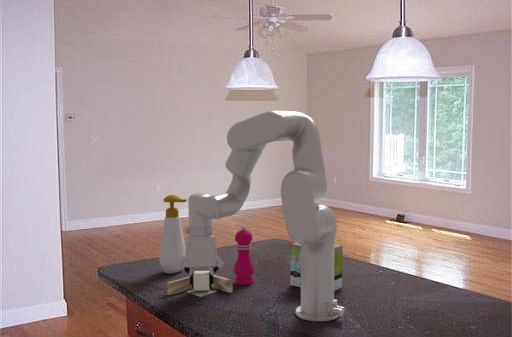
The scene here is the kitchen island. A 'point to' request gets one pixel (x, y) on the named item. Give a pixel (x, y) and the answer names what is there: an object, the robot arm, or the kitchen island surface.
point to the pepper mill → (244, 258)
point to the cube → (201, 280)
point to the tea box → (296, 265)
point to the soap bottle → (172, 238)
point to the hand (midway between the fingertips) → (201, 285)
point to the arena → (184, 285)
